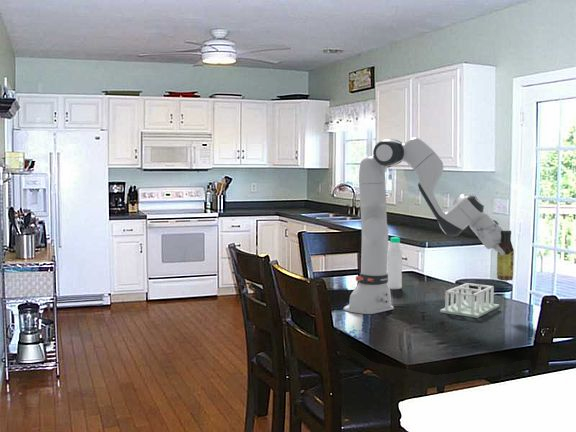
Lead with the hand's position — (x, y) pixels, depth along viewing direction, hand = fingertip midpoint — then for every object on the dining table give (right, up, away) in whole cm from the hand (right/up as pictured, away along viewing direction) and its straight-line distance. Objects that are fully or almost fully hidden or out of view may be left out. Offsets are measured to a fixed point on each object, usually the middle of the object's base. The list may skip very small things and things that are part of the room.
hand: (507, 253), depth 260 cm
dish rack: (-11, -24, +13) cm, 30 cm away
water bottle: (-36, -21, +59) cm, 72 cm away
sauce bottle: (-1, -11, +1) cm, 11 cm away
